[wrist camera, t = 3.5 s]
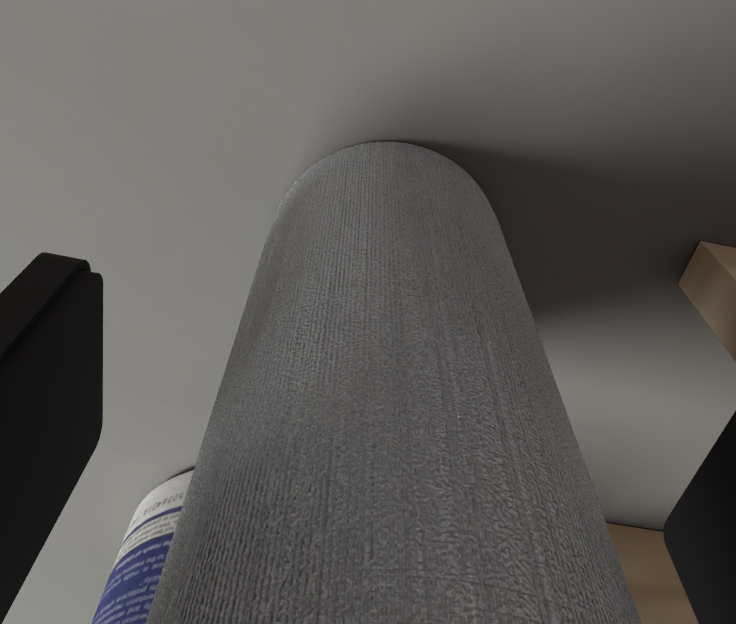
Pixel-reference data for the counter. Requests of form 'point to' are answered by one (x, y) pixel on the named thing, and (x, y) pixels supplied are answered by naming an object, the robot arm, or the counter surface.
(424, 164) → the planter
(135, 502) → the counter surface
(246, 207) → the counter surface
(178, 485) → the pill bottle
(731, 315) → the slot rack
